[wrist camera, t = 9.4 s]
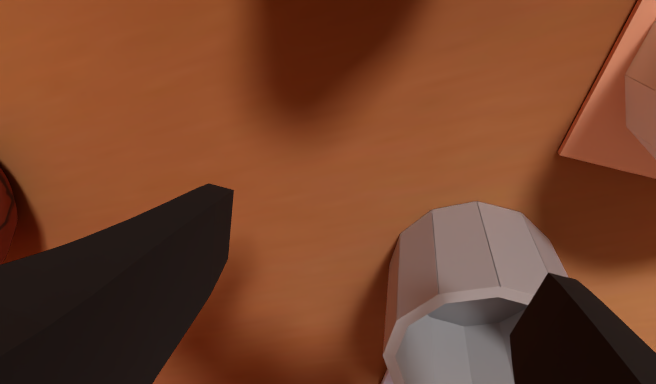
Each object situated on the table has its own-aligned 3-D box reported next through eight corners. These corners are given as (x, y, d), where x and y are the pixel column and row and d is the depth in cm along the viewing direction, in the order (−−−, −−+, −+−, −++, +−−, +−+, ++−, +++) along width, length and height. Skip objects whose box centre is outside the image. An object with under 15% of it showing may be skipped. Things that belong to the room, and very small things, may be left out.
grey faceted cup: (512, 340, 23) (541, 446, 18) (376, 302, 24) (366, 396, 19) (583, 228, 19) (645, 324, 14) (416, 185, 20) (418, 264, 15)
